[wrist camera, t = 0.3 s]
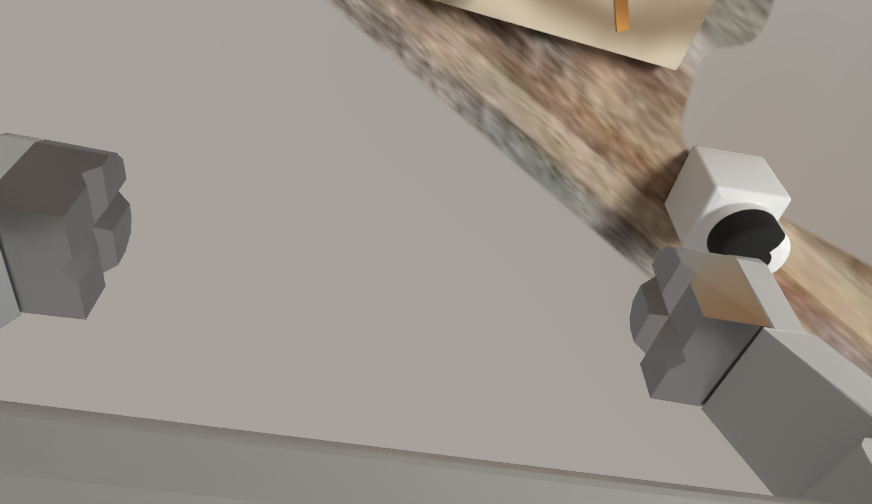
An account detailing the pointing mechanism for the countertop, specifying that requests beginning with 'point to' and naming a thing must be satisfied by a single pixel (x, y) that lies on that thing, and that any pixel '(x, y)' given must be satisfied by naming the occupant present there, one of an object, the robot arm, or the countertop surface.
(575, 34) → the birch stand
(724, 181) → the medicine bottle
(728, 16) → the countertop surface
